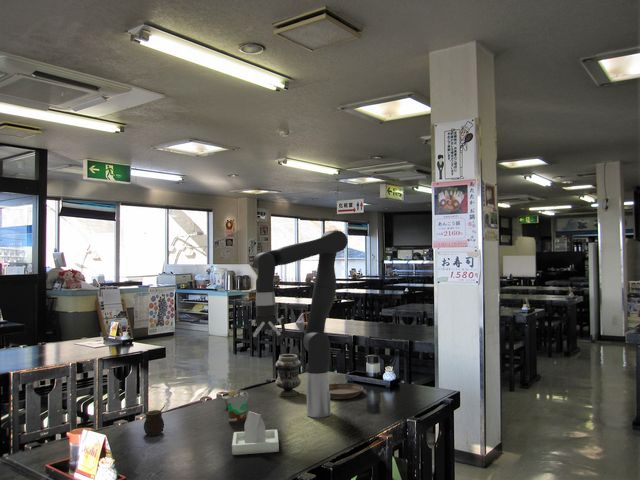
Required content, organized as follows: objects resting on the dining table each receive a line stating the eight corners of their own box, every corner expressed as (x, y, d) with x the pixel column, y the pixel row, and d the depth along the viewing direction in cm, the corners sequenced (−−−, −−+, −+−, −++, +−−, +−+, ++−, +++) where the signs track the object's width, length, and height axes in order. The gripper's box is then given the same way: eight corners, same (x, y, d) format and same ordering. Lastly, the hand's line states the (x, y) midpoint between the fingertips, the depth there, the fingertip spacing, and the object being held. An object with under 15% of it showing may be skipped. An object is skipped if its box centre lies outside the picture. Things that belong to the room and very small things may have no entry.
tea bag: (256, 447, 167) (256, 416, 168) (244, 442, 172) (244, 412, 172) (265, 444, 170) (265, 413, 170) (253, 439, 175) (253, 410, 175)
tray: (277, 438, 178) (277, 429, 178) (278, 451, 165) (278, 442, 166) (234, 441, 176) (233, 432, 177) (232, 454, 164) (232, 445, 164)
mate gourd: (142, 432, 188) (142, 405, 188) (163, 429, 191) (163, 402, 192) (144, 438, 181) (144, 410, 182) (166, 435, 184) (165, 407, 185)
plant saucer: (321, 389, 247) (321, 382, 247) (364, 389, 244) (364, 382, 244) (315, 400, 226) (315, 393, 226) (362, 401, 224) (361, 393, 224)
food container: (242, 424, 194) (242, 398, 195) (227, 424, 196) (227, 397, 196) (253, 415, 206) (252, 390, 207) (239, 414, 208) (238, 389, 208)
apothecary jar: (300, 397, 232) (299, 357, 233) (274, 397, 232) (273, 358, 233) (301, 390, 244) (301, 352, 245) (277, 391, 244) (276, 353, 245)
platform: (259, 405, 222) (259, 390, 223) (225, 414, 210) (224, 398, 210) (242, 400, 231) (242, 385, 231) (208, 409, 218) (208, 393, 218)
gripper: (283, 302, 202) (284, 343, 202) (247, 304, 200) (248, 345, 200) (284, 303, 195) (286, 346, 194) (247, 305, 193) (248, 348, 192)
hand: (267, 345), depth 197 cm, fingers open, 8 cm apart
